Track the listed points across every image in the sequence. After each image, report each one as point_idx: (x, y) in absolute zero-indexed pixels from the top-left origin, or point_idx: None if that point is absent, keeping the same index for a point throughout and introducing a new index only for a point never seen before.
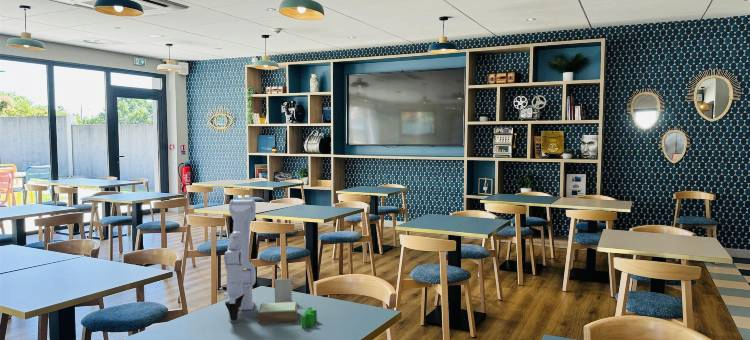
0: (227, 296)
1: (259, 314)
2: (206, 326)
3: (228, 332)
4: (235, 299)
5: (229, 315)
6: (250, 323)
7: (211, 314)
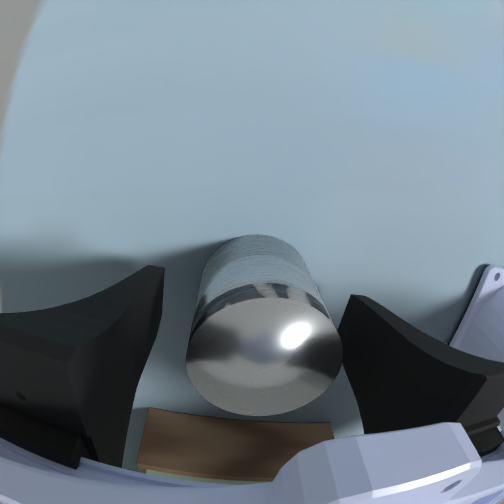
0: (128, 496)
1: (138, 458)
2: (176, 26)
3: (7, 227)
4: (408, 412)
5: (243, 262)
6: (160, 374)
7: (480, 106)
